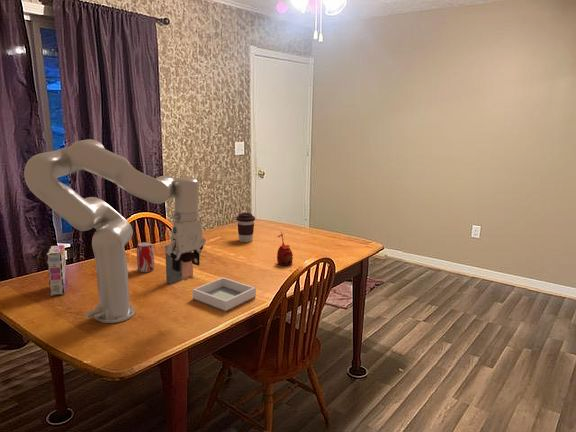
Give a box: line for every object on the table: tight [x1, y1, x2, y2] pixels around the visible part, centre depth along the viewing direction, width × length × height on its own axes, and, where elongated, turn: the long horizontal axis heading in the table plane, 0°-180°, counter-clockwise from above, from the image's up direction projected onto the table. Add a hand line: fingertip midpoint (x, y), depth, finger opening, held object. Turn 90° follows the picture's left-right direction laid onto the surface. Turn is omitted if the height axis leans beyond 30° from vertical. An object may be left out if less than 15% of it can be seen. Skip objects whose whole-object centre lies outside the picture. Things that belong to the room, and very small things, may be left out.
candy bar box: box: [46, 244, 68, 297], centre depth 164 cm, size 11×5×16 cm, turn 21°
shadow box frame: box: [192, 276, 257, 313], centre depth 162 cm, size 16×17×4 cm
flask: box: [164, 244, 193, 285], centre depth 178 cm, size 4×14×18 cm, turn 152°
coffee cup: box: [236, 212, 256, 243], centre depth 235 cm, size 10×10×15 cm
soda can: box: [136, 241, 155, 273], centre depth 188 cm, size 7×7×12 cm
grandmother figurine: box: [179, 251, 198, 281], centre depth 144 cm, size 8×4×13 cm, turn 141°
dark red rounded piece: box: [276, 231, 294, 266], centre depth 200 cm, size 8×7×15 cm
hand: (186, 267), depth 145 cm, fingers closed on grandmother figurine, 7 cm apart
